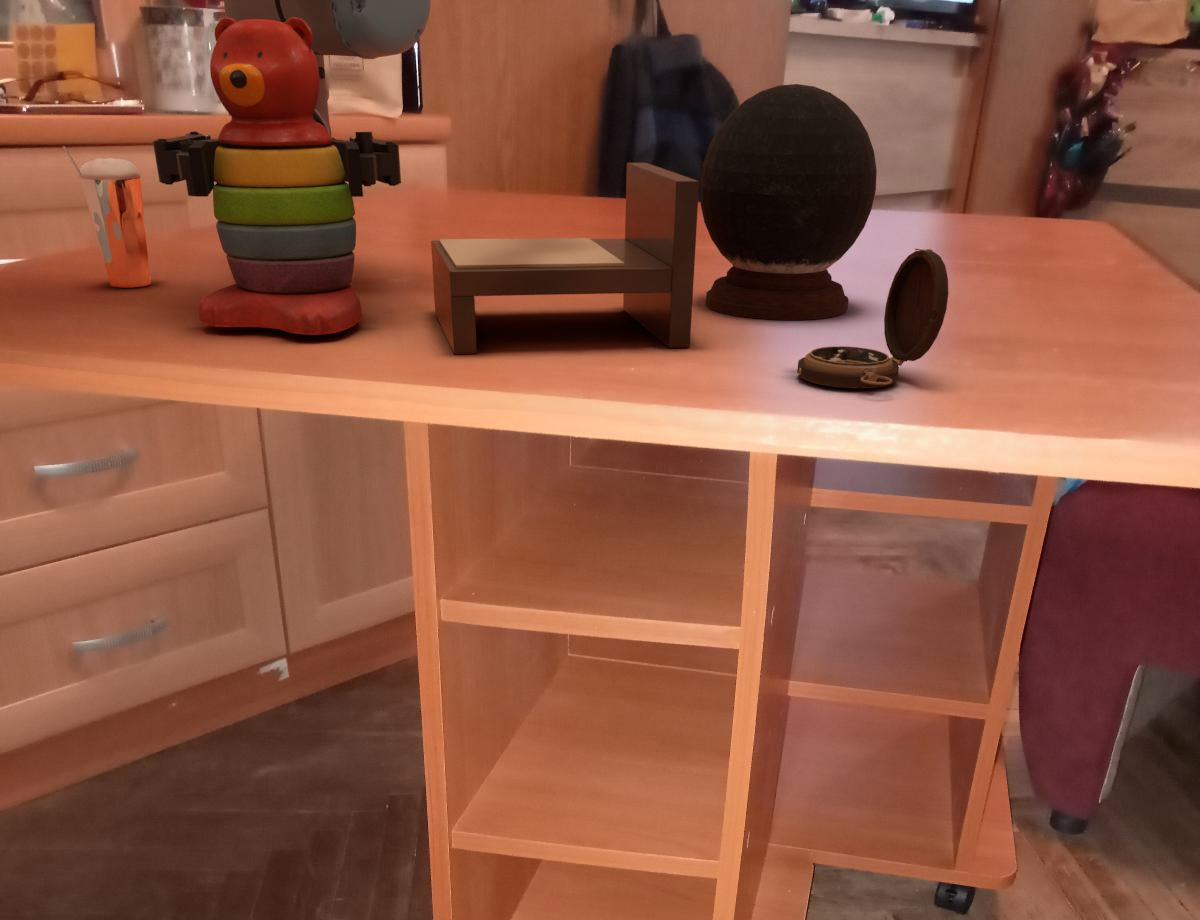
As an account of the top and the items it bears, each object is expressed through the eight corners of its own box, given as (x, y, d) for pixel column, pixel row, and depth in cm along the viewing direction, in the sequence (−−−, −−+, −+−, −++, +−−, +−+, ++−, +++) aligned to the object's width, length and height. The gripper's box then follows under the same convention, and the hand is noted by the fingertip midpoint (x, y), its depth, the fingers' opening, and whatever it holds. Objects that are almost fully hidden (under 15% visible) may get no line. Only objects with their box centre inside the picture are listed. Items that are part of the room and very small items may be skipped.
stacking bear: (187, 325, 79) (134, 12, 69) (265, 301, 87) (229, 17, 77) (327, 338, 76) (293, 14, 67) (395, 311, 85) (373, 20, 75)
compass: (780, 370, 73) (792, 243, 69) (895, 365, 74) (913, 241, 70) (830, 401, 66) (847, 263, 62) (954, 396, 68) (979, 261, 64)
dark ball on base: (875, 323, 86) (908, 88, 78) (699, 321, 86) (714, 84, 77) (843, 292, 97) (868, 83, 89) (687, 290, 97) (698, 80, 88)
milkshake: (83, 284, 94) (53, 144, 89) (147, 278, 97) (122, 142, 92) (103, 292, 91) (74, 148, 86) (168, 285, 94) (144, 146, 89)
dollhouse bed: (453, 354, 75) (445, 181, 69) (435, 313, 86) (426, 162, 81) (690, 347, 78) (699, 180, 72) (641, 309, 89) (646, 162, 84)
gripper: (424, 200, 95) (451, 236, 77) (150, 200, 91) (109, 239, 73) (418, 94, 91) (445, 106, 73) (131, 90, 87) (82, 100, 69)
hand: (277, 172), depth 73 cm, fingers closed on stacking bear, 9 cm apart
